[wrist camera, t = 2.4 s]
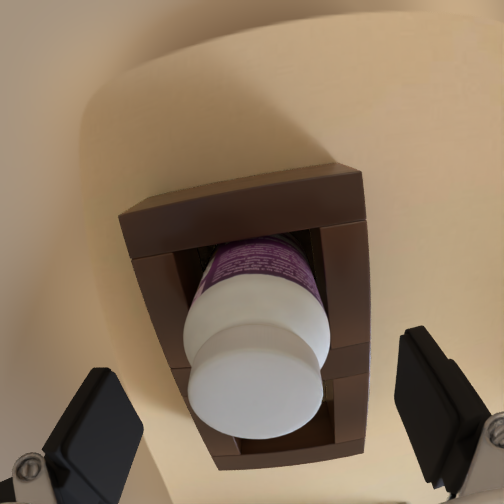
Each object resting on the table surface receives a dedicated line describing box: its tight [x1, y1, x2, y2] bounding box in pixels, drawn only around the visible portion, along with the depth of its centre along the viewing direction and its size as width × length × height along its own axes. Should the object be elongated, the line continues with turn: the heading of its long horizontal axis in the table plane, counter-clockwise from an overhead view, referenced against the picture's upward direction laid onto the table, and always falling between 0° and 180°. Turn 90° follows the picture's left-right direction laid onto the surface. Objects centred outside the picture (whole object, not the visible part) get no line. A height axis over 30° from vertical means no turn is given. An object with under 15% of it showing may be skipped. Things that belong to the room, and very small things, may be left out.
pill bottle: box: [183, 232, 330, 439], centre depth 13 cm, size 5×5×10 cm
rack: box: [118, 163, 371, 470], centre depth 17 cm, size 18×10×4 cm, turn 10°
